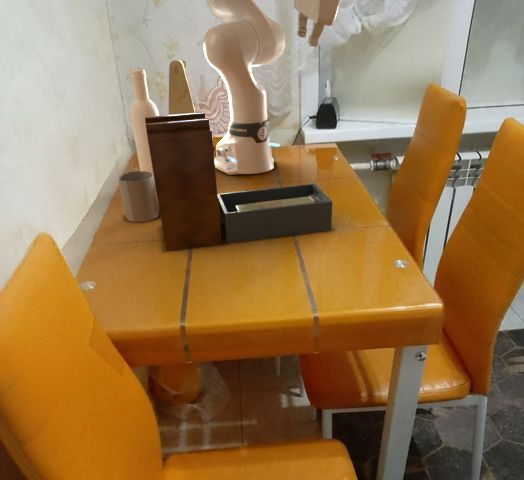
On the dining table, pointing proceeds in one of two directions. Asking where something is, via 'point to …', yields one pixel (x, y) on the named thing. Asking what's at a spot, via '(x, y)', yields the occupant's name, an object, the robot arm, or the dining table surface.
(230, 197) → the crate
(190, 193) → the stand
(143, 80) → the bottle
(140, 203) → the cup
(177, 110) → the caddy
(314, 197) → the drawer
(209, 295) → the dining table surface
